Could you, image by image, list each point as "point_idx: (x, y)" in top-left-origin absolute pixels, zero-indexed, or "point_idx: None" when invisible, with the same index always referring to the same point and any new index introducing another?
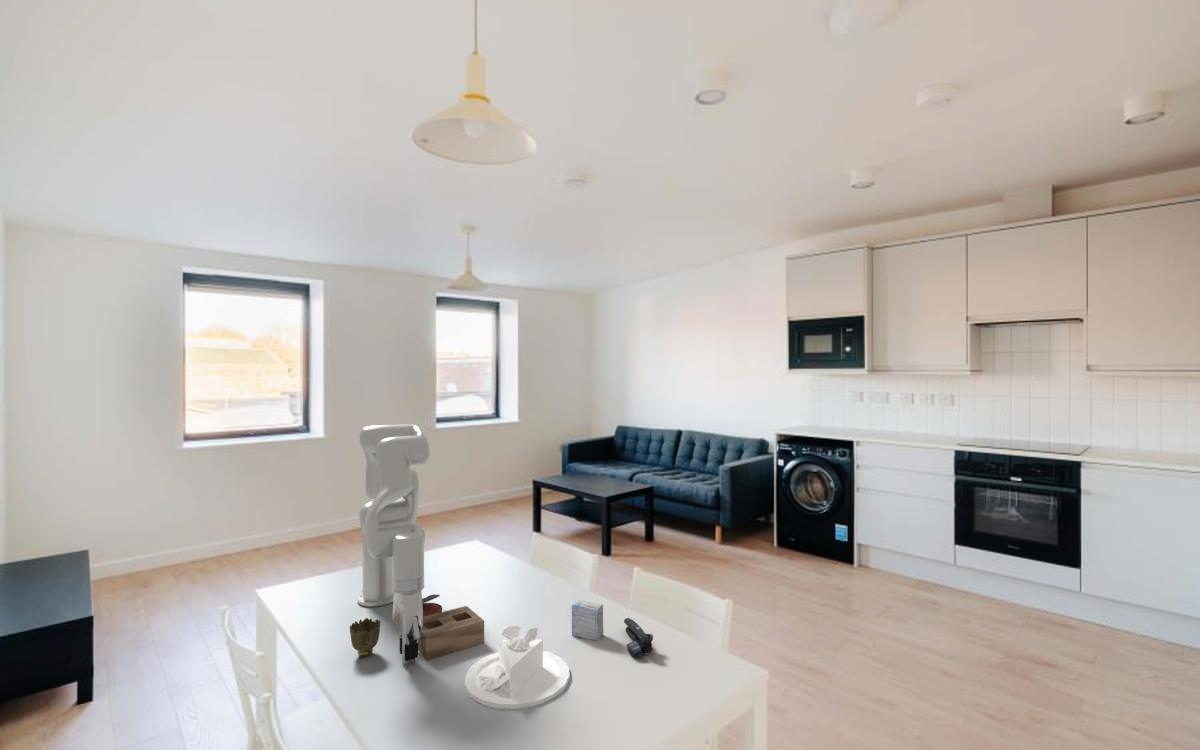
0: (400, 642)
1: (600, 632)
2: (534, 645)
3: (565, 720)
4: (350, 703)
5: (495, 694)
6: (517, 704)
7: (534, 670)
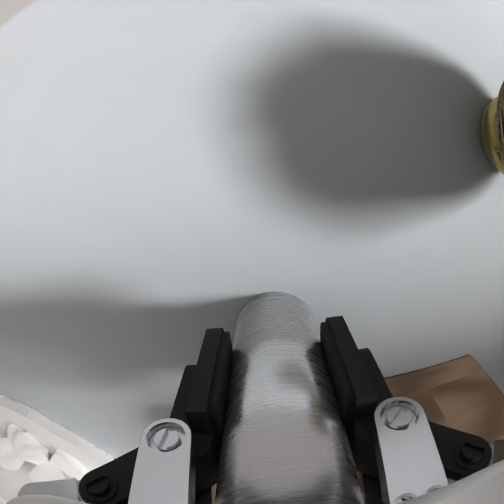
0: (349, 375)
1: None
2: None
3: None
4: (37, 20)
5: (3, 427)
6: None
7: None
